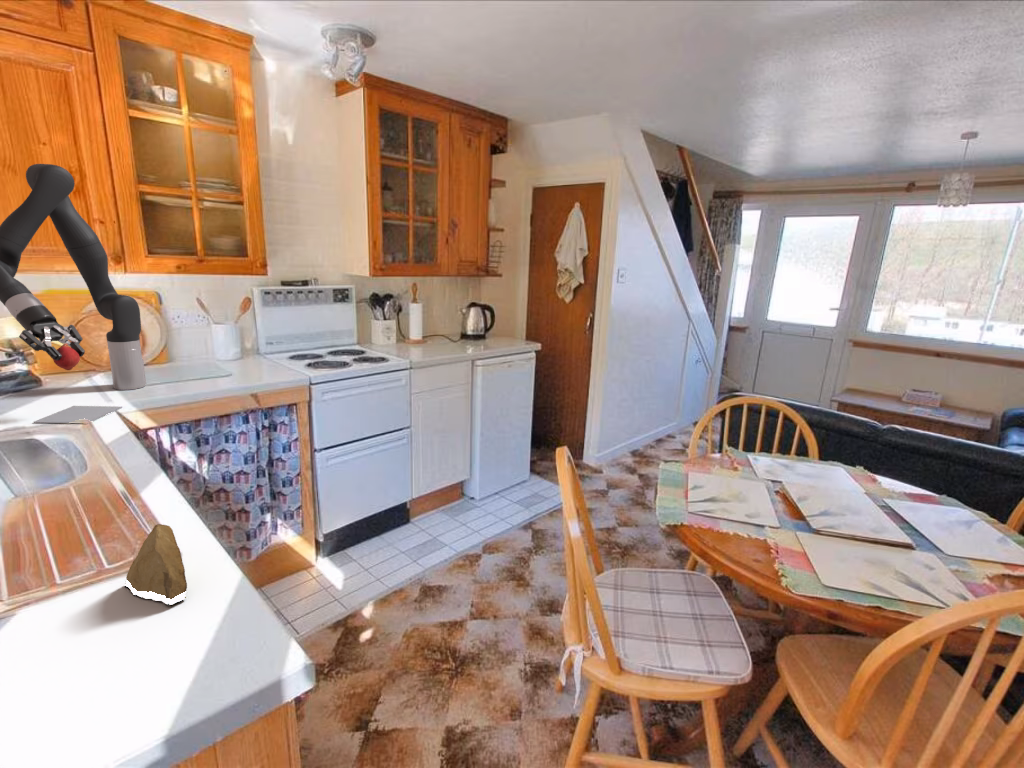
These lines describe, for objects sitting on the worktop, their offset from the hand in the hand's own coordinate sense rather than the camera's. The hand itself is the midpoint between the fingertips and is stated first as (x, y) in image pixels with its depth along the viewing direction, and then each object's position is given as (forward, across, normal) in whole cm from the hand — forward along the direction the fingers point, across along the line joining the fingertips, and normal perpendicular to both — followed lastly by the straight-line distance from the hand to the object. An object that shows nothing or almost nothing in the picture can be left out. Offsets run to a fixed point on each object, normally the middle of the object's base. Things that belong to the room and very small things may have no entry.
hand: (71, 356), depth 145 cm
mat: (+13, 0, +13) cm, 18 cm away
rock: (+75, -60, -50) cm, 109 cm away
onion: (+2, 0, +4) cm, 5 cm away
